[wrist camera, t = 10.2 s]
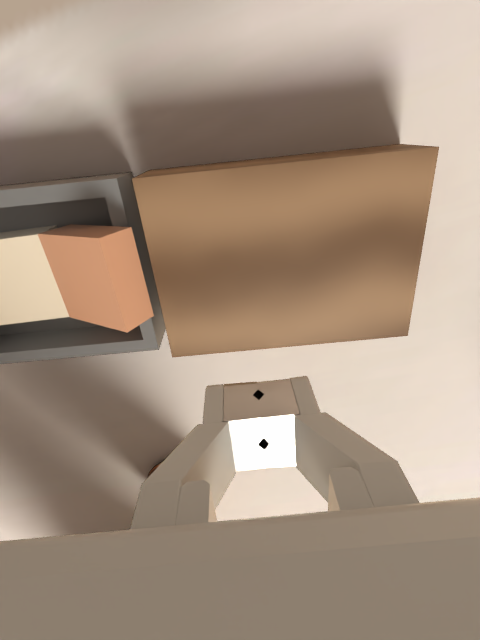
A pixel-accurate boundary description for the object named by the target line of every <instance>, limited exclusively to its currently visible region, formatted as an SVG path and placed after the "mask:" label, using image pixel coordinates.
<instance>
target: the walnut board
mask: <svg viewBox="0 0 480 640" xmlns="http://www.w3.org/2000/svg"><path fill="white" fill-rule="evenodd" d="M438 150H439V147H433V146H419V145H405V144H397V145H387V146H378V147H368V148H358V149H349V150H339V151H329V152H320V153H310V154H301V155H291V156H281V157H272V158H262V159H252V160H243V161H233V162H223V163H214V164H204V165H194V166H185V167H175V168H166V169H156V170H149V171H147V172H145V173H143V174H141V175H138V176H136V177H134V178H132V182H133V186H134V190H135V195H136V199H137V204H138V208H139V212H140V217H141V221H142V226H143V230H144V234H145V239H146V243H147V248H148V252H149V256H150V261H151V265H152V270H153V274H154V278H155V283H156V287H157V292H158V296H159V300H160V305H161V309H162V314H163V318H164V322H165V327H166V331H167V336H168V340H169V344H170V349H171V353H172V357H181V356H192V355H203V354H214V353H225V352H235V351H246V350H257V349H268V348H279V347H290V346H301V345H312V344H323V343H334V342H345V341H356V340H366V339H377V338H388V337H399V336H408V330H409V324H410V318H411V312H412V306H413V300H414V294H415V288H416V282H417V276H418V270H419V264H420V258H421V252H422V246H423V240H424V234H425V228H426V222H427V216H428V210H429V204H430V198H431V192H432V186H433V180H434V174H435V168H436V162H437V156H438Z"/></svg>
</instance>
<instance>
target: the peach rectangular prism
mask: <svg viewBox="0 0 480 640" xmlns="http://www.w3.org/2000/svg"><path fill="white" fill-rule="evenodd" d="M38 237H39V239H40V242H41V244H42V247H43V250H44V252H45V255H46V257H47V260H48V262H49V265H50V268H51V270H52V273H53V275H54V278H55V281H56V283H57V286H58V288H59V291H60V294H61V296H62V299H63V301H64V304H65V306H66V309H67V312H68V314H69V317H71V318H74V319H78V320H82V321H86V322H89V323H93V324H97V325H101V326H104V327H108V328H112V329H116V330H119V331H123V332H127V333H128V332H129V331H131V330H132V329H134V328H135V327H137V326H139V325H140V324H142V323H143V322H145V321H146V320H148V319H149V318H151V317H153V316H154V314H153V310H152V306H151V302H150V298H149V294H148V290H147V286H146V282H145V279H144V275H143V271H142V267H141V263H140V259H139V255H138V251H137V247H136V243H135V239H134V235H133V231H132V227H120V226H97V225H75V224H70V225H66V226H63V227H60V228H56V229H53V230H49V231H46V232H42V233H39V234H38Z"/></svg>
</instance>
